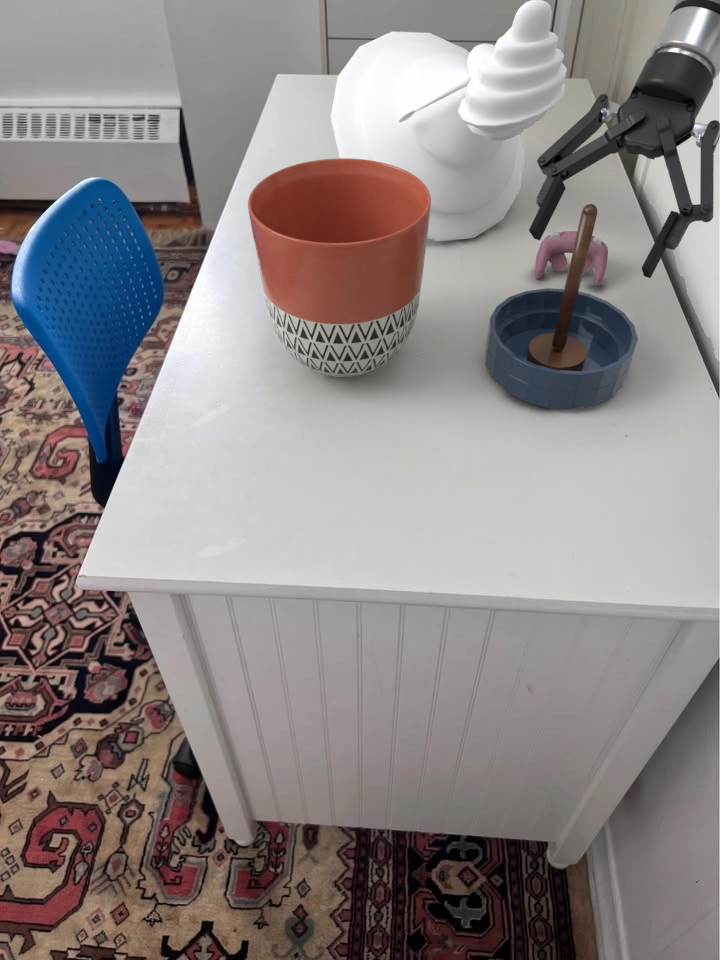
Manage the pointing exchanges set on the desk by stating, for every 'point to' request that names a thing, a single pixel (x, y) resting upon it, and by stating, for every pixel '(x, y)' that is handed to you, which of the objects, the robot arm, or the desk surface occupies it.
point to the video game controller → (564, 243)
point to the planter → (341, 260)
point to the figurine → (452, 114)
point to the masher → (567, 308)
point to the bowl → (591, 324)
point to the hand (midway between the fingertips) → (587, 254)
